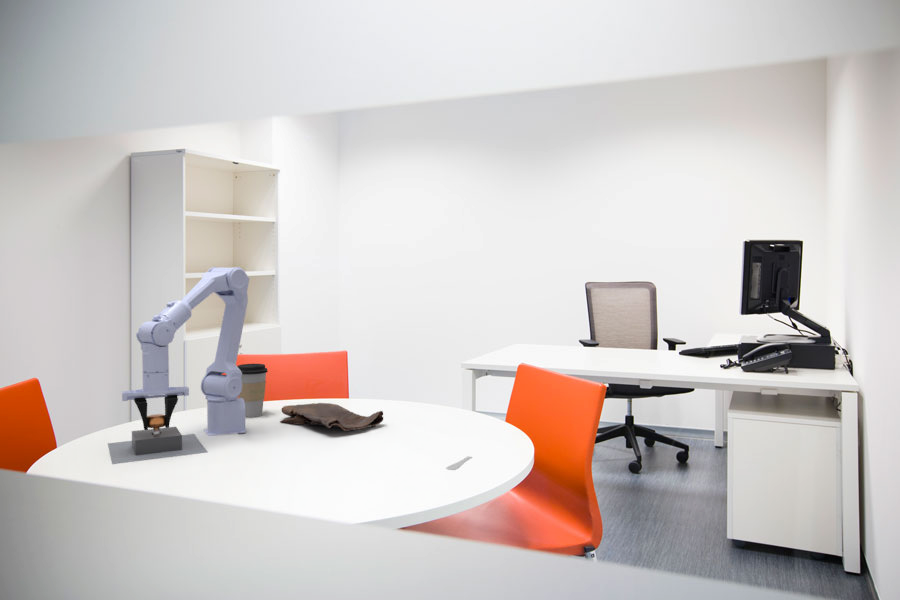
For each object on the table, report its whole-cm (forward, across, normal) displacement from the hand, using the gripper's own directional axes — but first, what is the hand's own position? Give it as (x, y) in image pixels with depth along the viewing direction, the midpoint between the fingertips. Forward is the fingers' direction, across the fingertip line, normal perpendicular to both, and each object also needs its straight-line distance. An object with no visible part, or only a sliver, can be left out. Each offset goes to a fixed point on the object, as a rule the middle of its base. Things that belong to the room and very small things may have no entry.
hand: (156, 427), depth 157 cm
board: (+5, 0, 0) cm, 5 cm away
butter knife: (+6, -63, +42) cm, 76 cm away
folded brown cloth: (+6, -46, -6) cm, 47 cm away
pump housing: (+5, 0, 0) cm, 5 cm away
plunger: (+5, 0, 0) cm, 5 cm away
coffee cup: (+6, -29, -28) cm, 41 cm away
